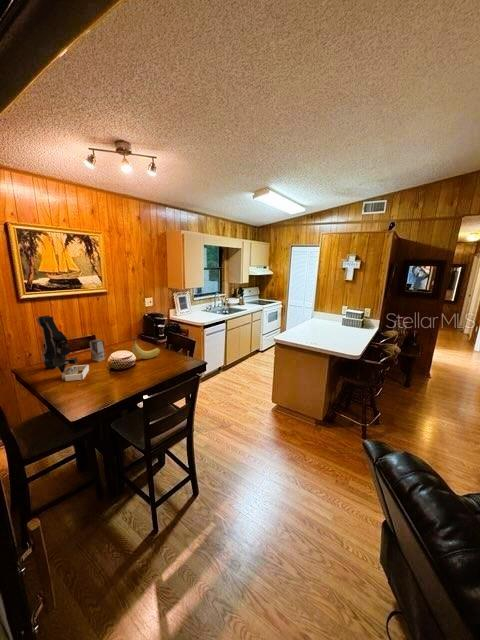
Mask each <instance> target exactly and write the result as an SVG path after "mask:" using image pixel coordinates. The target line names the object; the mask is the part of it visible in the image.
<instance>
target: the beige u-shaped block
mask: <svg viewBox="0 0 480 640" xmlns="http://www.w3.org/2000/svg"><path fill="white" fill-rule="evenodd" d="M73 366H74V365H72V366H71V367H73ZM77 366H78V372H81V373H77V374H73V375H65V380H64V381H65V382H71V381H72V382H73V381H81V380H85V378H86V376H87V374H88V372H89V371H90V364H82V365H81V364H80V365H79V364H78V365H77Z"/></svg>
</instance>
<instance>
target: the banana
mask: <svg viewBox="0 0 480 640" xmlns="http://www.w3.org/2000/svg"><path fill="white" fill-rule="evenodd" d="M132 341H133V345H132V347H131V351H132V353H133V354H134V355H135V356H137V357H138V358H140V359H143V360H148V359H149V360H150V359H152V358H155V357H156V356H158V355H159V354H160V351H161V348H159V347H157V348H154V349H151V350H143V349H141V348H140V346H139V345H138V343H137V339H136V337H132Z"/></svg>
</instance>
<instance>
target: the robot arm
mask: <svg viewBox="0 0 480 640" xmlns="http://www.w3.org/2000/svg"><path fill="white" fill-rule="evenodd" d="M36 322H37V324H38V326H39V327H40V328H41V329H42V335H43V342H44V350H43V354H42V356H41V359H42V361H43V366H44V367H45V368H44V370H51V369H52V370H53V369H56V368H58V369H59V371H60V373H61V374H62V373H63V371H64V370H65V369H66V368H67V365H68V364H69V365H75V364H77V363H78V361H79V360H78V357H70V358H69V359H67V356H68V355H70V353H71V349H70V348H69V347H68V346H67V344H69V343H68V342H69V340H68V339H67V338H68V337H66V335H65V334H64V333H63V332H62V330H59V328H58V327H57V325H56V323H55V321H54V318H53V316H50V315H42V316H38V318H36Z"/></svg>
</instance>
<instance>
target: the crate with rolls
mask: <svg viewBox="0 0 480 640" xmlns="http://www.w3.org/2000/svg"><path fill="white" fill-rule="evenodd" d="M72 366H73V367H72ZM72 366H66V367H65V370H64V371H63V373H61V379H62V381H65V375H73V374H79V371H78V365H72Z"/></svg>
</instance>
